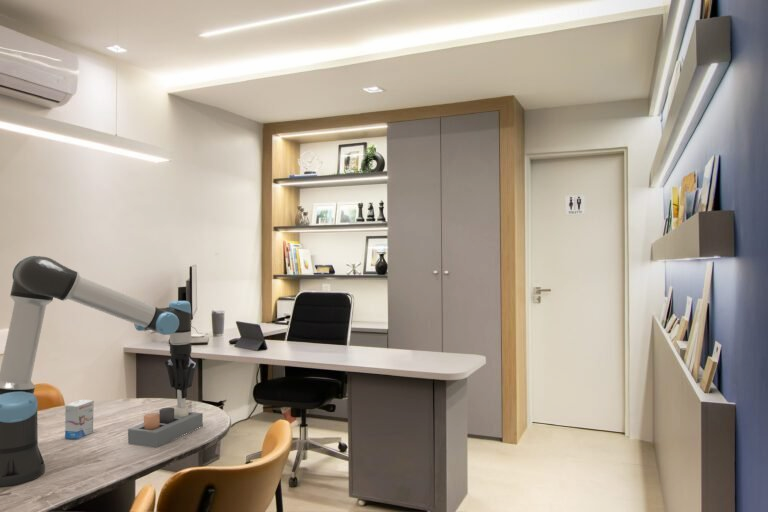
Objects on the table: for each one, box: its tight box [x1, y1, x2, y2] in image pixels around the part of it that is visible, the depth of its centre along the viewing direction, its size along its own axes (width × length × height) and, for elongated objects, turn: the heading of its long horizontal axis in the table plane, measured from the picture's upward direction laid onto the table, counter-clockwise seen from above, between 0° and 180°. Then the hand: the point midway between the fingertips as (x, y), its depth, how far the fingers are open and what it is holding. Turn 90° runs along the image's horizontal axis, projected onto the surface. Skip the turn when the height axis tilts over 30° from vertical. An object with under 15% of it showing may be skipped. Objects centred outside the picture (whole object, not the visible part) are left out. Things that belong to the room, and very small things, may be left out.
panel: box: [127, 411, 204, 448], centre depth 202 cm, size 24×12×5 cm, turn 160°
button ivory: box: [173, 405, 189, 418], centre depth 209 cm, size 5×5×6 cm
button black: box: [158, 407, 174, 424], centre depth 202 cm, size 5×5×6 cm
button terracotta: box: [143, 412, 160, 430], centre depth 195 cm, size 5×5×6 cm
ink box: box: [64, 399, 95, 440], centre depth 202 cm, size 9×5×12 cm, turn 168°
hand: (181, 406), depth 209 cm, fingers closed
